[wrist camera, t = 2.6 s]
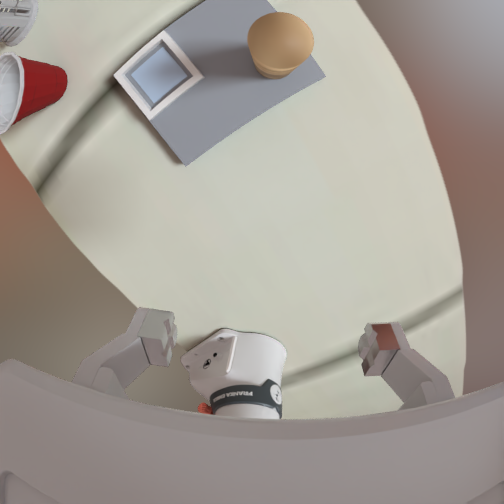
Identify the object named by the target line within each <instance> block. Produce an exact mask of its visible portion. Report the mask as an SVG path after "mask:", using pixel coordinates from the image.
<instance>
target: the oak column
mask: <svg viewBox="0 0 504 504" xmlns="http://www.w3.org/2000/svg"><path fill="white" fill-rule="evenodd" d="M247 42H248V46H249V49H250V52H251V56H252V59H253V62H254V65H255V68H256V70H257V71H258V72H259V73H260V74H261V75H262V76H264V77H266V78H268V79H282V78H284V77H286V76H288V75H289V74H290V73H291V72H292V71H293V70H295V69H296V68H297V67H298V66H299V65H300V64H302V63H303V62H304V61H305V60H306V59H307V58H308V57H309V56H310V54H311V52H312V50H313V46H314V38H313V34H312V31H311V29H310V28H309V26H308V25H307V24H306V23H305V22H304V21H303V20H302V19H300V18H299V17H297V16H295V15H292V14H289V13H283V12H274V13H269V14H266V15H264V16H261V17H260V18H258V19H257V20H256V21H255V22H254V23H253V24H252V25H251V27H250V29H249V31H248V36H247Z"/></svg>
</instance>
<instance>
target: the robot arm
mask: <svg viewBox="0 0 504 504" xmlns="http://www.w3.org/2000/svg"><path fill="white" fill-rule="evenodd" d="M174 319H175V317H174V313H173V312H170V311H163V310H157V309H149V308H143V307H139V308H138V309H137V311H136V313H135V315H134V317H133V319H132V321H131V323H130V325H129V328H128V329H127V331H126V333H125V334H121V335H120V336H118V337H117V338H115V339H113V340H112V341H110V342H109V343H108V344H106V345H104V346H103V347H101V348H100V349H98V350H97V351H95V352H94V353H92V354H91V355H89V356H88V357H86V358H85V359H83V360H82V362H81V364H80V366H79V368H78V370H77V372H76V374H75V376H74V378H73V380H72V382H69V381H66V380H63V379H61V378H58V377H56V376H53V375H50V374H48V373H45V372H43V371H41V370H38V369H36V368H34V367H31V366H29V365H27V364H25V363H22V362H20V361H18V360H16V359H8V360H6V361H4V362H2V363H1V364H0V504H504V382H502V383H499V384H496V385H494V386H491V387H488V388H485V389H482V390H479V391H476V392H473V393H470V394H467V395H463V396H460V397H456V398H455V396H454V393H453V391H452V388H451V385H450V383H449V380H448V378H447V376H445V375H444V374H443V373H442V372H441V371H440V370H438V369H437V368H436V367H435V366H434V365H432V364H431V363H430V362H429V361H428V360H426V359H425V358H424V357H423V356H422V355H420V354H419V353H418V352H417V351H415V350H414V349H411V348H410V346H409V343H408V341H407V339H406V336H405V334H404V332H403V329H402V327H401V325H400V323H399V322H388V323H387V322H383V323H368V324H367V325H366V326H365V328H364V330H365V333H364V334H363V335H362V336H361V337H360V340H359V343H358V352H359V356H360V357H361V358H362V359H363V360H364V361H363V362H362V368H363V372H364V376H380V375H382V376H381V377H382V378H383V379H384V380H385V381H386V382H387V384H388V385H389V386H390V387H391V388H392V389H393V391H394V392H395V393H396V394H397V395H398V396H399V398H400V399H401V400H402V401H403V402H404V404H403V405H402V406H401V407H400V408H399V409H398V410H397V411H392V412H385V413H378V414H370V415H361V416H351V417H339V418H323V419H281V417H282V394H281V388H280V386H281V377H282V371H283V367H284V363H285V360H286V357H287V353H286V350H285V348H284V346H283V345H282V344H281V343H280V342H278V341H277V340H275V339H273V338H271V337H269V336H266V335H262V334H257V333H241V332H237V331H234V330H230V329H221V330H219V331H218V332H216V333H215V334H213V335H212V336H211V337H209V338H208V339H206V340H205V341H203V342H202V343H200V344H199V345H197V346H196V347H194V348H193V349H191V350H190V351H188V352H187V353H185V354H184V355H182V356H181V363H182V365H183V366H184V368H185V369H186V370H187V371H188V372H189V381H190V383H191V385H192V387H193V388H194V389H195V390H196V391H197V392H198V393H200V394H201V395H202V396H203V397H205V398H206V399H207V400H209V401H210V404H211V407H210V406H208V405H207V404H205V403H201V404H200V405H199V406H198V411H199V412H200V413H195V412H189V411H182V410H176V409H170V408H165V407H159V406H155V405H150V404H146V403H141V402H137V401H133V400H130V399H129V398H128V396H127V394H126V393H125V391H124V389H125V388H126V387H127V386H128V385H130V384H131V383H132V382H133V381H134V380H135V379H136V378H137V377H138V376H139V375H140V374H141V373H142V372H144V371H145V370H146V369H147V368H148V367H149V366H150V364H151V365H157V366H164V367H169V365H170V361H171V358H172V351H171V349H172V348H174V347H175V344H176V340H177V327H176V325H175V324H174V323H173V322H174Z"/></svg>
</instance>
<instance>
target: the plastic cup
mask: <svg viewBox="0 0 504 504" xmlns="http://www.w3.org/2000/svg"><path fill="white" fill-rule="evenodd" d="M66 87H67V75H66V73H65V71H64V70H63V69H62V68H60V67H58V66H53V65H50V64H47V63H43V62H38V61H33V60H28V59H26V58H22V57H19V56H17V55H16V54H15V53H14V52H7V53H3V54H2V55H1V56H0V134H2V133H4V132H6V131H7V130H8V129H9V128H10V127H11V126H12V125H13V124H15V123H16V122H18V121H20V120H21V119H23V118H24V117H26V116H28V115H30V114H32V113H34V112H36V111H39V110H41V109H43V108H45V107H46V106H48V105H50V104H52V103H55V102H56V101H58V100H59V99H60V98H61V97H62V96H63V94H64V92H65V90H66Z"/></svg>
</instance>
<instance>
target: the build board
mask: <svg viewBox="0 0 504 504" xmlns="http://www.w3.org/2000/svg"><path fill="white" fill-rule="evenodd" d="M274 12H277V11H276V10H275V9H274V8H273V7H272V6H271V4H270V3H269V2H268V1H267V0H206V1H204V2H203V3H201V4H199V5H198V6H196V7H195V8H193V9H192V10H190V11H189V12H188V13H186V14H185V15H183V16H182V17H180V18H179V19H178V20H176V21H175V22H174V23H172V24H171V25H170V26H168V27H167V28H166V29H164V30H163V31H162V32H161V33H159V34H158V35H157V36H156V37H154V38H153V39H152V40H151V41H150V42H148V43H147V44H146V45H145V46H144V47H143V48H142V49H140V50H139V51H138V52H137V53H136V54H135V55H134V56H133V57H132V58H130V59H129V60H128V61H127V62H126V63H125V64H124V65H123V66H122V67H121V68H120V69H119V70H118V71H117V72H116V73H115V74H114V75H113V76H114V77H115V79H116V80H117V81H118V82H119V84H120V85H121V86H122V87H123V89H124V90H125V91H126V93H127V94H128V95H129V96H130V98H131V99H132V100H133V101H134V103H135V104H136V105H137V106H138V108H139V109H140V110H141V111H142V113H143V114H144V115H145V116H146V118H147V119H148V120H149V121H150V123H151V124H152V125H153V126H154V128H155V129H156V130H157V131H158V133H159V134H160V135H161V136H162V138H163V139H164V140H165V141H166V143H167V144H168V145H169V146H170V148H171V149H172V150H173V151H174V153H175V154H176V155H177V156H178V158H179V159H180V160H181V161H182V163H183V164H184V165H185V166H187V165H189V164H190V163H191V162H193V161H194V160H195V159H197V158H198V157H199V156H201V155H202V154H203V153H205V152H206V151H207V150H209V149H210V148H212V147H213V146H214V145H216V144H217V143H219V142H220V141H221V140H223V139H224V138H226V137H227V136H229V135H230V134H231V133H233V132H234V131H236V130H237V129H239V128H240V127H242V126H243V125H245V124H246V123H248V122H249V121H251V120H253V119H254V118H256V117H257V116H259V115H260V114H262V113H263V112H265V111H267V110H268V109H270V108H272V107H273V106H275V105H276V104H278V103H280V102H281V101H283V100H285V99H286V98H288V97H290V96H292V95H293V94H295V93H297V92H299V91H300V90H302V89H304V88H306V87H308V86H309V85H311V84H313V83H315V82H317V81H319V80H320V79H322V78H324V77H326V76H325V74H324V73H323V71H322V70H321V68H320V67H319V66H318V64H317V63H316V61H315V60H314V58H313V57H312V56H311V54H310V56H309V57H308V58H307V59H306V60H305V61H304V62H303V63H302V64H300V65H299V66H298V67H297V68H296V69H295V70H293V71H292V72H291V73H290V74H289V75H288V76H286V77H284V78H282V79H268V78H266V77H264V76H262V75H261V74H260V73H259V72H258V71H257V70H256V68H255V65H254V62H253V59H252V56H251V52H250V49H249V46H248V42H247V36H248V31H249V29H250V27H251V25H252V24H253V23H254V22H255V21H256V20H257V19H258V18H260V17H261V16H264V15H266V14H269V13H274Z"/></svg>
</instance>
